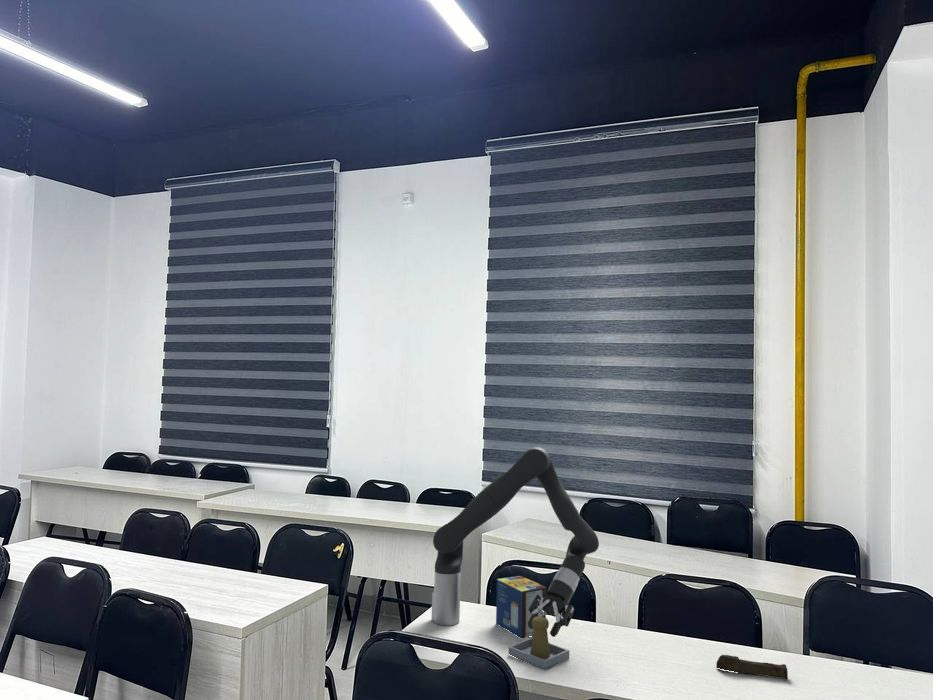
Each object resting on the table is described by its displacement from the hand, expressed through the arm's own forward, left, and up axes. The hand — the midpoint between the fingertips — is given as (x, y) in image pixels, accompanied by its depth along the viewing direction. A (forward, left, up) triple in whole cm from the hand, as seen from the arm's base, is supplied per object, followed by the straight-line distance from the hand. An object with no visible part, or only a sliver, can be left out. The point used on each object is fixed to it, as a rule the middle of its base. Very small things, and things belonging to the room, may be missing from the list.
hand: (540, 631), depth 190 cm
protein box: (-19, +13, -8) cm, 25 cm away
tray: (0, -1, -7) cm, 8 cm away
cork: (0, 0, -7) cm, 7 cm away
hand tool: (+49, +36, -8) cm, 62 cm away
